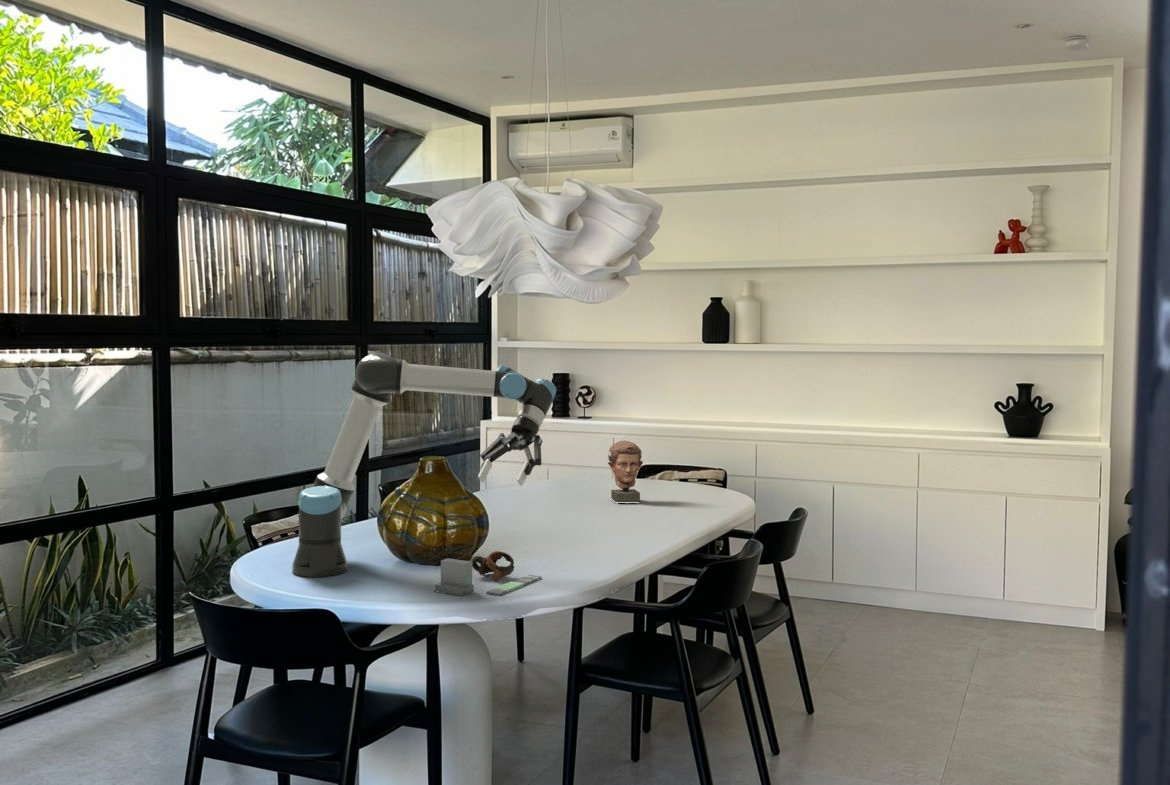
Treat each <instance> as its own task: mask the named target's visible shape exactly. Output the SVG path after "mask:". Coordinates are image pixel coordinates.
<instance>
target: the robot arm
mask: <svg viewBox="0 0 1170 785" xmlns="http://www.w3.org/2000/svg"><path fill="white" fill-rule="evenodd" d="M350 388H351V389H350V391H351V393H352V397H353V398H352V400H351V402H350V405H349V407H348V411H347V413H346V416H345V418H344V420H343V424H342V426H341V428H340V431H339V433H338V437H337V438H336V441H335V444H334V446H333V449H332V451H331V453H330V457H329V459H328V461H327V464H326V467H325V468H324V471H323V472H320V473H319V474H317V476H316V477H315V480H314V483H313V485H312V486H311V487H308V488H304V489H303V490H301V491H300V492H299V494H298V501H297V505H298V546H297V550H296V552H295V555H294V559H293V562H292V567H291V568H292V569H291V570H292V574H294V575H297V576H300V577H309V578H313V577H314V578H317V577H331V576H336V575H341V574H343V573H346V572H347V570H348V560H347V558H346V557H347V556H346V554H345V552H344V548H343V546H342V519H343V518H345V516H346V514H347V513H348V511H349V507H350V502H351V499H352V497H353V494H354V492H355V485H354V483H353V480H354V478H355V475H356V472H357V470H358V467H359V465H360V462H361V460H362V456H363V454H364V451H365V449H366V446H367V444H368V441H369V439H370V437H371V433H372V431H373V429H374V427H375V424H376V422H377V419H378V416H379V414H380V411H381V408H382V407H384V406H386V405H388V404H389V403H390V402H389V401H390V400H391V397H392V394H403V393H404V392H406V391H413V392H427V393H428V392H429V393H442V394H453V395H465V396H467V395H468V396H481V397H493V398H501V399H503V398H504V399H509V400H514V401H517V402H519V403H521V405H522V406H521V408H520V410H519V412H518V414H517V416H516V419H515V420H514V423H513V424H512V427H511V430H510V431H511V432H510V433H509V434H508V435H507V434H504V432H501V433H500V434H499V435H498V436H497V438H496V439H495V440H494V441H493V442H492V443H491V444H489V446H488V447H487V448H486V449H485V450H484V451H483V452H481V454H480V455H479V456H480V458H481V460H482V461H483V462H482V463H481V466H480V471H479V473H478V475H477V478H478V479H479V481H480V482H481V483H485V481H486V479H487V477H488V475H489V472H490V471H491V469H492V467H493V462H494V461H496V460H497V459H499V458H501V457H502V456H503V455H505V454H506V453H509V452H512V451H524V453H525V456H526V460H527V461H525V462H524V463H523V465H522V468H521V470H520V471H519V473H518V476H517V478H516V481H517V483H518V484H519V486H523V485H524V483H525V481H526V480H527V478H528V476H530V475H531V473H532V471H533V469H534V467H535V466H538V467H539V466H542V443H543V439H542V438H541V436H540V434H538V432H539V431H540V428H541V426H542V424H543V422H544V420H545V418H546V416H547V414H548V412H549V409H550V408H551V406H552V404H553V402H554V399H555V397H556V393H557V387H556V386H555V384H554V383H553V382H552V381H551V380H549V379H544V378H542V377H541V378H537V379H535V381H534V380H532V379H529V378H528V377H526V376H524V375H522V373H519V372H517V371H515V370H513V369H512V368H510V367H508V366H506V365H505V364H500V365H499V366H498V367H497V369H496V370H488V369H487V370H486V369H475V368H466V367H465V368H464V367H451V366H449V367H448V366H439V365H438V366H437V365H429V364H426V365H425V364H418V363H416V364H414V363H408V362H407V361H406V360H405V359H398V358H397V359H396V358H394V357H393V356H392V355H389V354H387V353H384V352H373V353H370V354H369V355H366V356H364V357H363V358H361V359H360V361H359V362H358V364H357V366H356V369H355V378H354V381H353V383H352V385H351V387H350ZM531 444H533V453H534V454H533V455H532V452H531V449H530V446H531ZM508 445H509V446H508ZM533 456H534V458H533Z"/></svg>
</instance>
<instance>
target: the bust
mask: <svg viewBox="0 0 1170 785" xmlns="http://www.w3.org/2000/svg"><path fill="white" fill-rule="evenodd" d="M607 456H608V457H607V458H608V462H607V464H608V466H609V467H610V470H611V472H612V473H613V475H614V482H615V485H616V486H617V487H618V488H619V489H611V491H610V492H611V498H612V499H613V500H614V501H615V502H640V503H641V493H640V491H638V490H636V489H635V488H633V487H635V484H636V477H637V474H638V471H639V470H640V468H641V467H642V465H643V464H644V462H643V460H641V459H642V458H643V457H642V456H643V455H642V450H641V448H640V447H639V446H638V445H637V444H636V443H634V442H633V441H629V440H619V441H617V442H615V443H614V444H612V445H611V446H610V448H609V450H608V455H607ZM615 502H614V503H615Z"/></svg>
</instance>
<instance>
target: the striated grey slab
mask: <svg viewBox="0 0 1170 785" xmlns="http://www.w3.org/2000/svg"><path fill="white" fill-rule="evenodd" d="M474 587H475V585H474V584H473V567H472V562H471V561H470V560H463V559H462V560H461V559H456V558H455V559H454V558H448V557H447V558H444V559H441V560H440V582H436V583H434V592H435V591H438V592H437V593H440V592H444V593H443V594H447V593H450V594H449V595H453V594H455V595H454V596H459V595H460V597H464V596H467V595H470V594H471V593H472V594H473V593H474Z"/></svg>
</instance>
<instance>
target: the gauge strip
mask: <svg viewBox="0 0 1170 785" xmlns="http://www.w3.org/2000/svg"><path fill="white" fill-rule="evenodd" d="M542 578H543V577H542V576H541V575H535V574H528V575H525V576H522V577H520V578H517V579H514V580H513V581H509V582H507V583H504V584H501V585H499V586H496V587H494V588H492V589H490V590H487V591H485V592H486V595H490V594H491V596H497V597H498V596H499V597H500V596H502V595H505V594H508V593H510V592H513V591H514V590H517V588H518V589H520V588H522V587H525V586H528V585H529V584H532V583H535V582H537V581H539V579H540V580H541V579H542ZM542 580H543V579H542ZM512 590H513V591H512ZM509 591H510V592H509ZM507 592H508V593H507Z"/></svg>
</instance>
